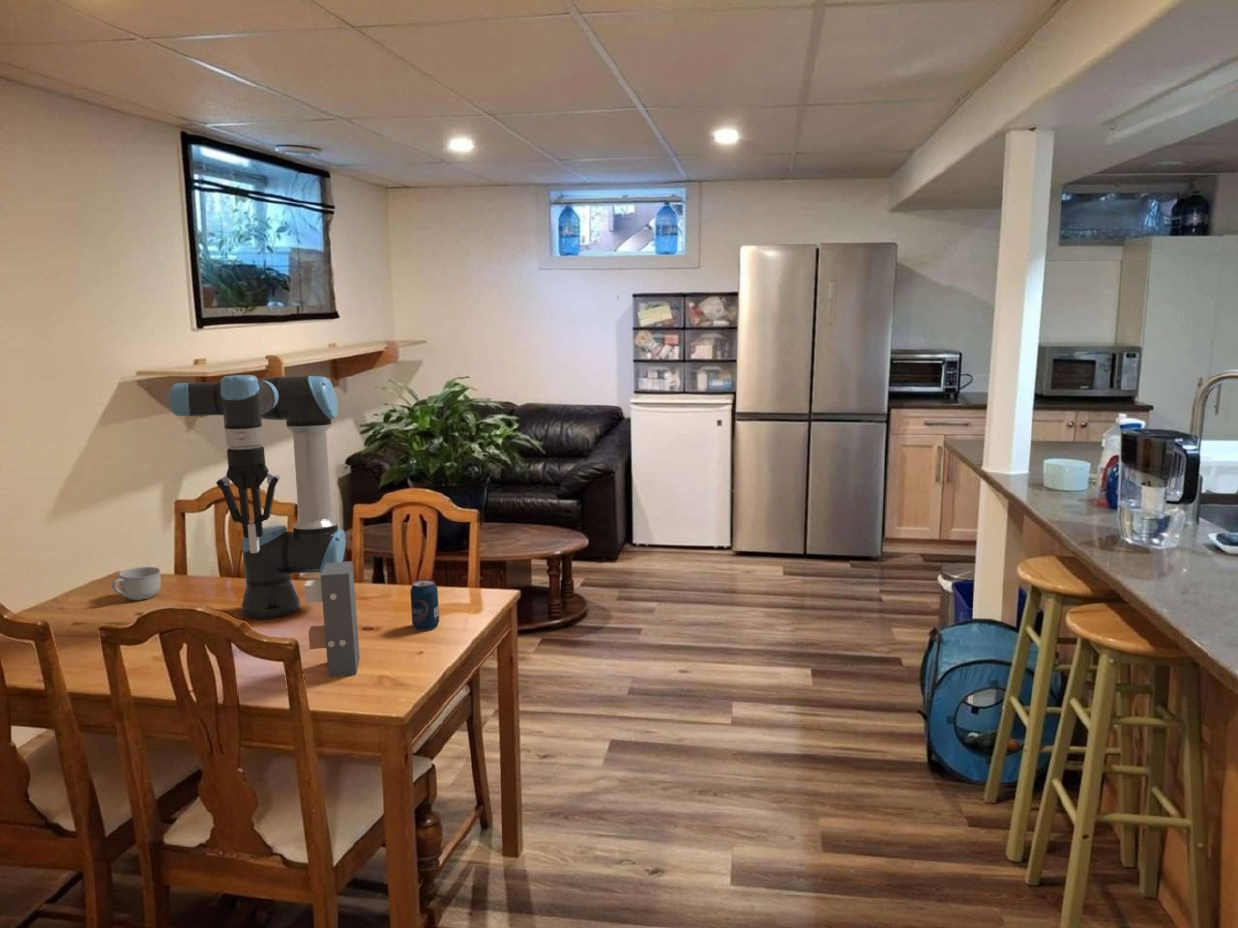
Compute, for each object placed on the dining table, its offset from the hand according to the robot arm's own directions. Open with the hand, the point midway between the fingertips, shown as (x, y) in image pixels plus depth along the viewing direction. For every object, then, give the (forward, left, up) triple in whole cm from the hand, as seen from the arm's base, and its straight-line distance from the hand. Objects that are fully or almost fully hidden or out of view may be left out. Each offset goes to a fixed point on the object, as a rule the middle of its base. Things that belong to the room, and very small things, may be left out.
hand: (255, 551), depth 195 cm
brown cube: (+10, +6, -23) cm, 26 cm away
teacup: (-76, +36, -30) cm, 89 cm away
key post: (+14, +9, -29) cm, 34 cm away
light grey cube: (+10, +6, -12) cm, 17 cm away
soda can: (+19, +38, -30) cm, 52 cm away
